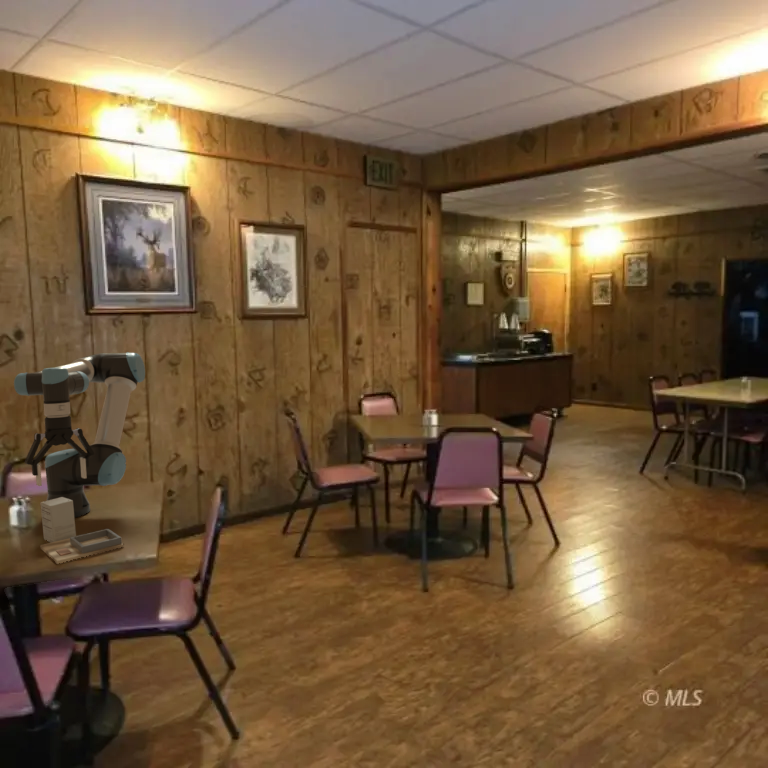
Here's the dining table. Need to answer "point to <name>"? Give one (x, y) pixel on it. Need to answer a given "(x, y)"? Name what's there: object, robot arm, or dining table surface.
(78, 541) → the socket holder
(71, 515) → the supplement box
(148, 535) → the dining table surface
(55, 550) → the board
